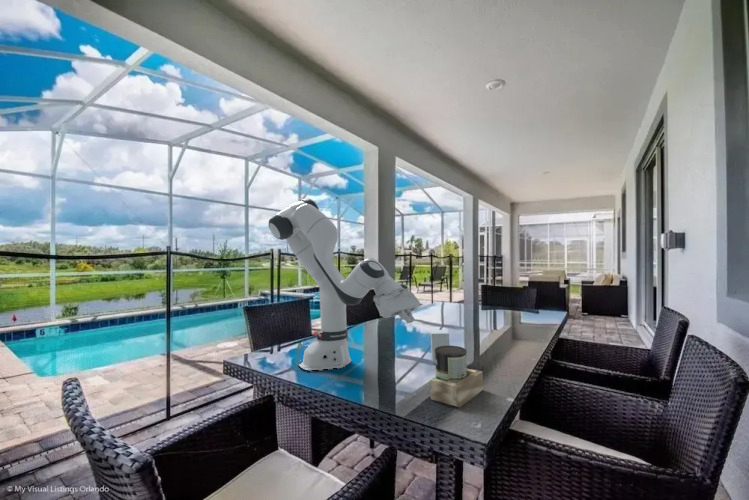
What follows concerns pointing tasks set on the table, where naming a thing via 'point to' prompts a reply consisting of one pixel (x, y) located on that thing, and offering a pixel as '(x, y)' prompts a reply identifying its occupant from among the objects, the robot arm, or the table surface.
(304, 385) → the table surface
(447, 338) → the supplement box
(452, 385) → the wooden dock
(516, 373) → the table surface
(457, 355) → the coffee can
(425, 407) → the table surface
